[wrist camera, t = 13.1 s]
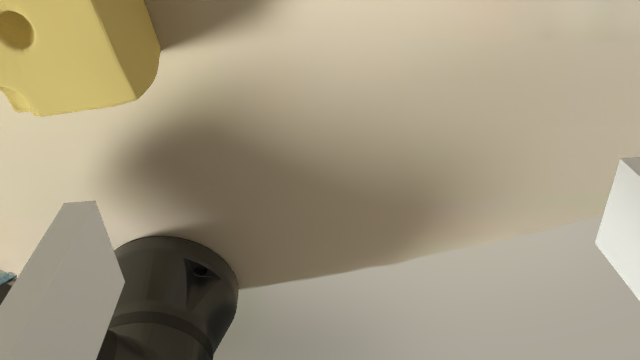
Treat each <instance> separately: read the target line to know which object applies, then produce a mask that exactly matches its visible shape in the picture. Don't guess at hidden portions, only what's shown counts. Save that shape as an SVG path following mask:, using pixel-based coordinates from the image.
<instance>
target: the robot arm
mask: <svg viewBox="0 0 640 360" xmlns="http://www.w3.org/2000/svg"><path fill="white" fill-rule="evenodd" d="M595 244H596V245H597V247H598V248H599V249H600V250H601V252H602V253H603V254H604V256H605V257H606V258H607V259H608V261H609V262H610V263H611V264H612V266H613V267H614V268H615V270H616V271H617V272H618V273H619V275H620V276H621V277H622V279H623V280H624V281H625V283H626V284H627V285H628V287H629V288H630V289H631V290H632V291H633V293H634V294H635V296H636V297H637V298H638V299H639V300H640V157H635V158H623V159H620V162H619V165H618V168H617V172H616V175H615V178H614V182H613V185H612V188H611V192H610V195H609V198H608V202H607V205H606V208H605V211H604V215H603V218H602V221H601V225H600V228H599V232H598V235H597V238H596V242H595ZM16 276H17V275H16V274H14V273H12V272H10V273H7V272H4V271H2V270H0V360H213V355H214V353H215V351H216V349H217V348H218V346H219V344H220V342H221V341H222V339H223V337H224V335H225V333H226V332H227V330H228V328H229V327H230V325H231V323H232V321H233V319H234V316H235V313H236V308H237V300H238V284H237V280H236V277H235V275H234V273H233V271H232V270H231V268H230V267H229V266H228V264H227V263H226V262H225V261H224V260H223V259H222V258H221V257H220V256H218V255H217V254H216V253H214V252H213V251H211V250H210V249H208V248H206V247H204V246H202V245H200V244H197V243H195V242H192V241H188V240H185V239H180V238H174V237H148V238H142V239H138V240H135V241H132V242H129V243H127V244H125V245H123V246H121V247H119V248H118V249H116V250H115V251H114V250H113V248H112V245H111V242H110V239H109V237H108V234H107V231H106V228H105V226H104V223H103V220H102V218H101V215H100V212H99V209H98V207H97V204H96V201H85V202H73V203H64V204H63V206H62V208H61V209H60V211H59V212H58V214H57V216H56V217H55V219H54V220H53V222H52V224H51V225H50V227H49V228H48V230H47V232H46V233H45V235H44V236H43V238H42V240H41V241H40V243H39V244H38V246H37V248H36V249H35V251H34V252H33V254H32V256H31V257H30V259H29V260H28V262H27V264H26V265H25V267H24V268H23V270H22V272H21V273H20V275H19V276H18V278H17V277H16Z"/></svg>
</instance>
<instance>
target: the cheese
mask: <svg viewBox="0 0 640 360" xmlns="http://www.w3.org/2000/svg"><path fill="white" fill-rule="evenodd" d="M160 52H161V47H160V44H159V42H158V39H157V36H156V33H155V30H154V27H153V24H152V21H151V19H150V16H149V13H148V10H147V7H146V5H145V2H144V0H0V90H1V91H2V92H3V93H4V94H5V96H6V97H7V99H8V101H9V103H10V105H11V107H12V108H13V109H14V110H15V111H16V112H31V113H32V114H33V115H35V116H51V115H57V114H63V113H70V112H76V111H83V110H91V109H99V108H106V107H111V106H117V105H121V104H125V103H128V102H131V101H135V100H137V99H138V98H140V97H141V96H142V95H143V94H144V92H145V91H146V90H147V89H148V88H149V87H150V86H151V84H152V83H153V81H154V79H155V77H156V74H157V71H158V64H159V56H160Z"/></svg>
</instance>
